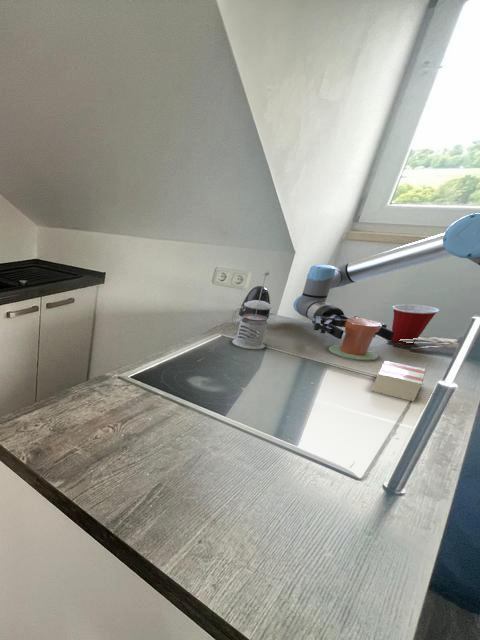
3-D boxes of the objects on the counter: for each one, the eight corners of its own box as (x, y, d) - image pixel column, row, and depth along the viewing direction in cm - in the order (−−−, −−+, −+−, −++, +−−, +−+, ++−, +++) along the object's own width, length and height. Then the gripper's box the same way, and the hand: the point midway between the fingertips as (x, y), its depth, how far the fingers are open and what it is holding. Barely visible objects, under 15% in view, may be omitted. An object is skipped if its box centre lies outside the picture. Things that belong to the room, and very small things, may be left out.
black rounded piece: (241, 328, 149) (250, 289, 142) (232, 319, 158) (241, 282, 152) (271, 329, 146) (282, 289, 140) (260, 320, 156) (270, 283, 150)
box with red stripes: (377, 376, 110) (384, 360, 108) (418, 385, 104) (425, 369, 102) (371, 390, 102) (378, 373, 100) (413, 401, 97) (422, 383, 95)
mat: (364, 347, 129) (364, 346, 128) (386, 361, 118) (387, 360, 118) (321, 344, 132) (322, 343, 131) (340, 358, 121) (340, 357, 121)
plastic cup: (381, 333, 140) (394, 300, 135) (424, 340, 133) (439, 306, 128) (378, 341, 133) (392, 307, 128) (423, 349, 126) (439, 313, 121)
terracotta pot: (361, 347, 127) (372, 318, 123) (376, 357, 120) (388, 327, 116) (331, 345, 129) (341, 317, 125) (344, 355, 122) (355, 325, 118)
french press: (258, 351, 128) (278, 275, 118) (221, 342, 136) (237, 270, 126) (269, 344, 133) (289, 271, 123) (234, 335, 142) (250, 266, 132)
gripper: (361, 326, 138) (408, 348, 119) (284, 324, 142) (317, 345, 123) (369, 305, 135) (418, 325, 116) (290, 304, 139) (324, 322, 120)
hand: (366, 335), depth 119 cm, fingers open, 13 cm apart
